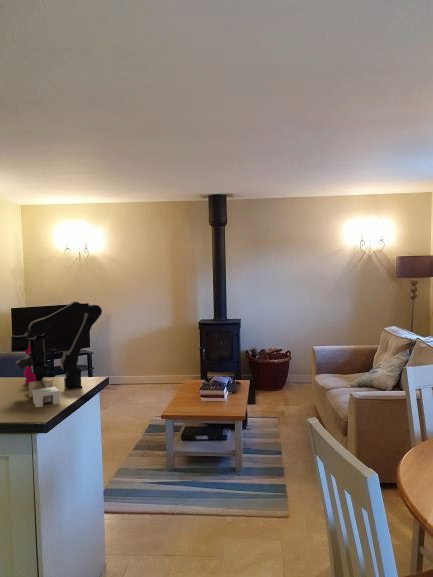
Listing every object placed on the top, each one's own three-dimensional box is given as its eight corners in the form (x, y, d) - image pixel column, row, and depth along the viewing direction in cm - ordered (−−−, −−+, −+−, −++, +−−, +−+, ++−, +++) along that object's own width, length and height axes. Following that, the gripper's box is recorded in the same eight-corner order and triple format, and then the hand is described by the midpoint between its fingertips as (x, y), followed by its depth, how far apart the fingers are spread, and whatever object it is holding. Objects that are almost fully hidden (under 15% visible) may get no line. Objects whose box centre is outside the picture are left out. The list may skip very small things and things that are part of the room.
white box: (52, 393, 180) (51, 379, 180) (59, 401, 167) (58, 386, 167) (29, 396, 175) (28, 382, 175) (34, 405, 162) (34, 390, 162)
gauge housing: (55, 398, 172) (55, 386, 172) (59, 403, 165) (59, 390, 165) (33, 402, 168) (32, 389, 167) (36, 407, 161) (35, 394, 161)
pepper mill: (44, 381, 203) (42, 340, 203) (32, 385, 196) (31, 342, 196) (32, 380, 205) (30, 339, 205) (20, 384, 199) (19, 341, 198)
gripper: (14, 349, 186) (15, 384, 186) (19, 355, 170) (20, 393, 170) (41, 346, 191) (42, 380, 192) (48, 352, 175) (50, 389, 176)
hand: (38, 385), depth 182 cm, fingers closed
